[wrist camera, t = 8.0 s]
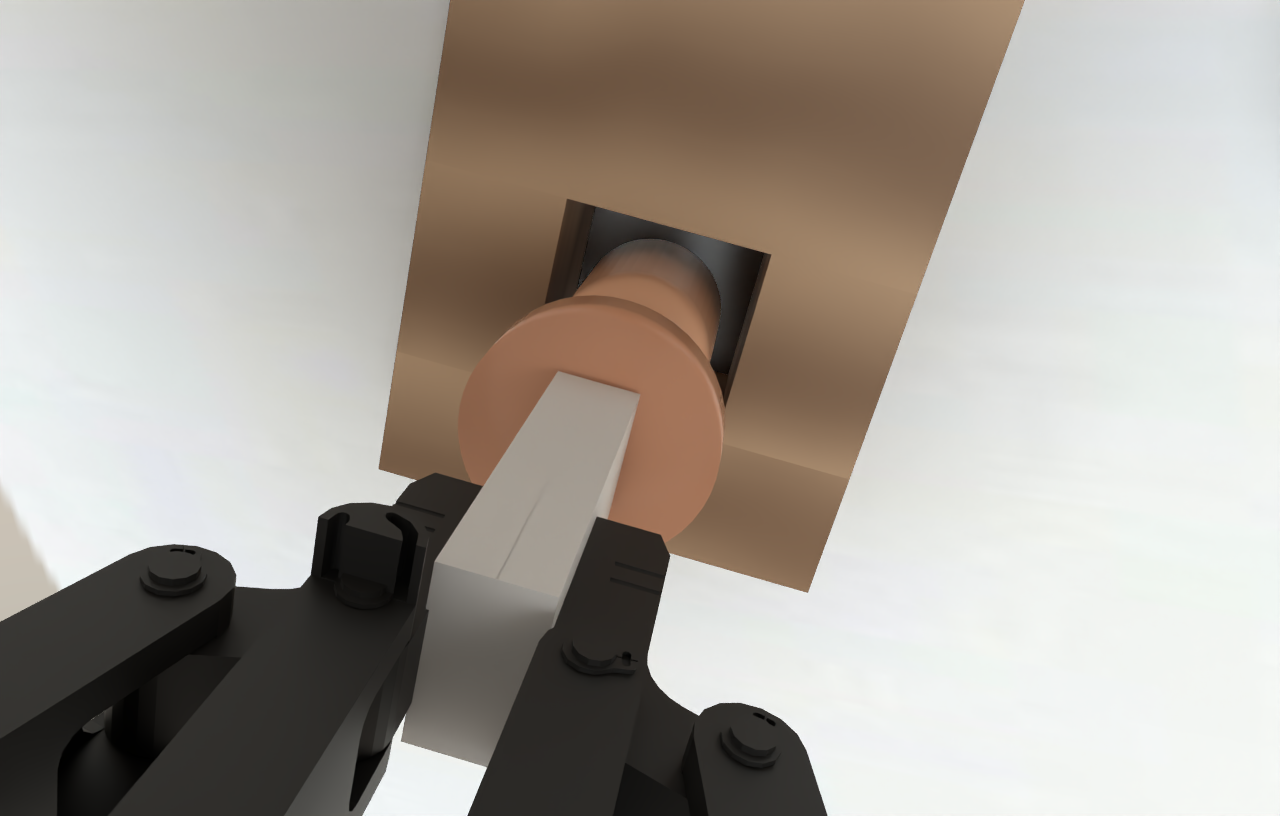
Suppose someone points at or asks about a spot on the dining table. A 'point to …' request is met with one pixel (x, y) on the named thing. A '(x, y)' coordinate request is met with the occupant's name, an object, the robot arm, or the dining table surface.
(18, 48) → the dining table surface
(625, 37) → the socket block
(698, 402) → the plug terracotta
